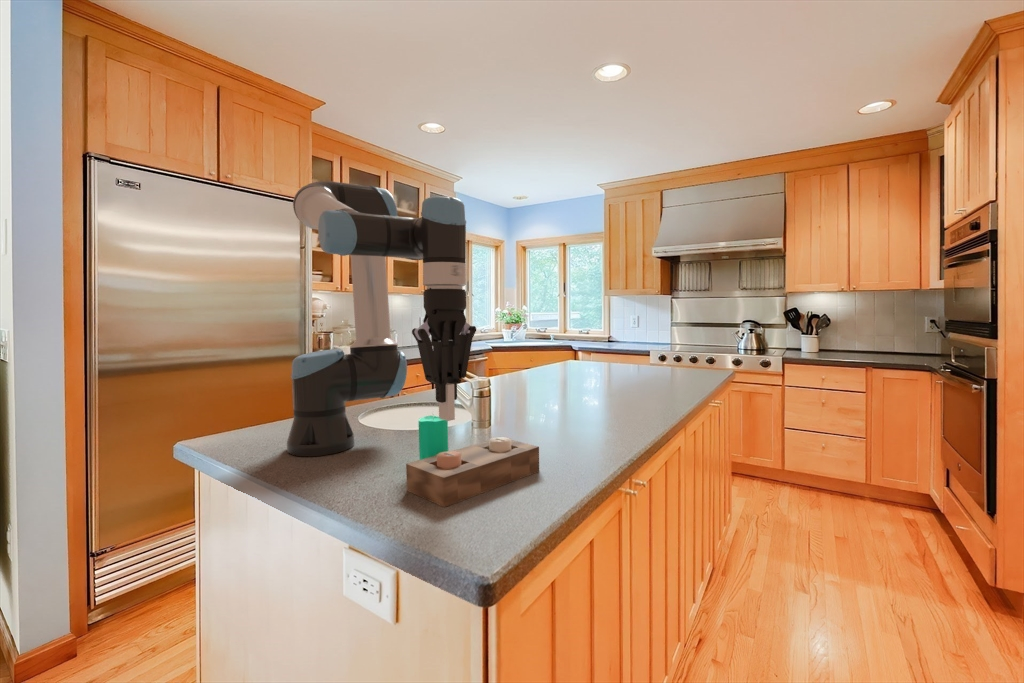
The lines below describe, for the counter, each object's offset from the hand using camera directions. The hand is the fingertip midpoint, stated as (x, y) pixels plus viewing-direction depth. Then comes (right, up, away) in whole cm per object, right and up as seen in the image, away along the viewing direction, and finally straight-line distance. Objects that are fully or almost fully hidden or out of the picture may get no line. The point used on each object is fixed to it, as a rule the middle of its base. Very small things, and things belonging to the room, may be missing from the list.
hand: (446, 418), depth 88 cm
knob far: (+10, -12, +10) cm, 18 cm away
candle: (-4, -13, +13) cm, 18 cm away
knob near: (+1, -13, 0) cm, 13 cm away
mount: (+5, -13, +5) cm, 14 cm away
